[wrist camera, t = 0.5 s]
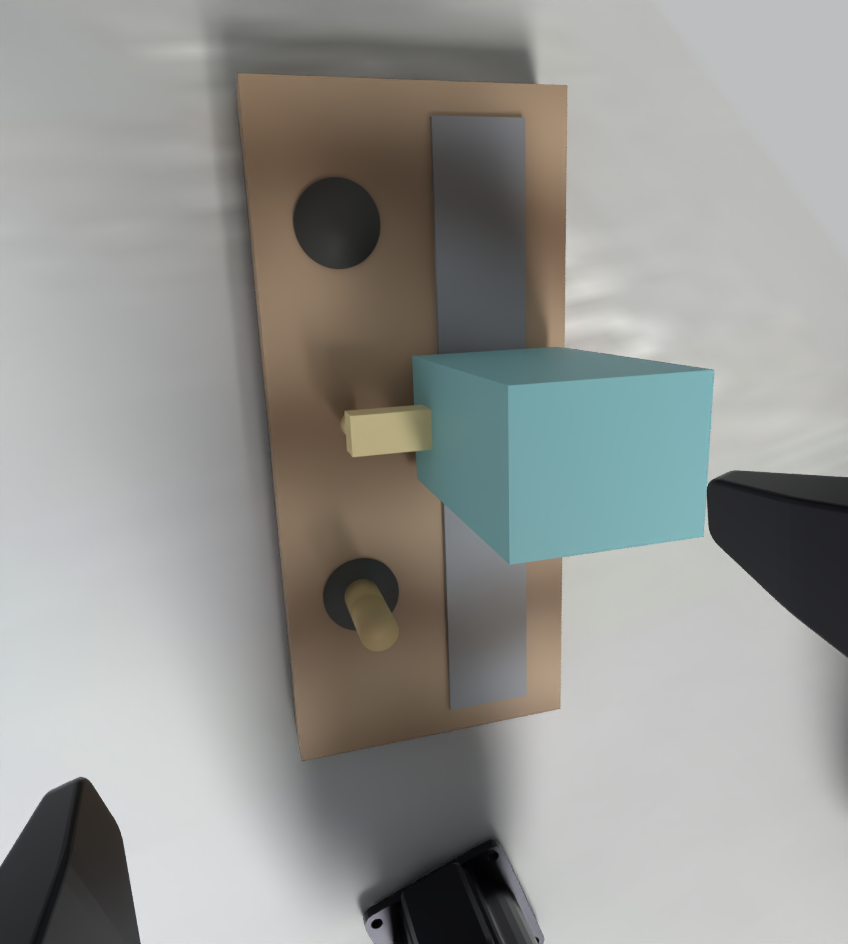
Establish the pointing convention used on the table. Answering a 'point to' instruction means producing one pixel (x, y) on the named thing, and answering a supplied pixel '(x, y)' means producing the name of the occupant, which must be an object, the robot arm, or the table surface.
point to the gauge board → (399, 385)
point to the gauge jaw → (554, 447)
